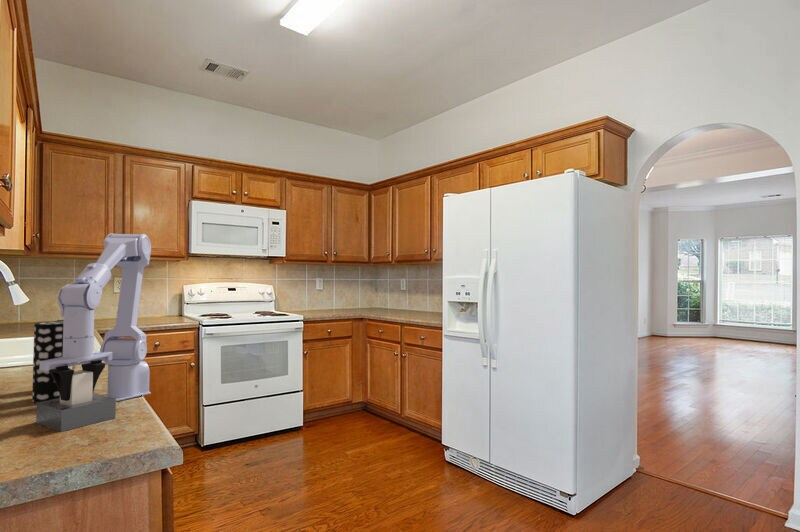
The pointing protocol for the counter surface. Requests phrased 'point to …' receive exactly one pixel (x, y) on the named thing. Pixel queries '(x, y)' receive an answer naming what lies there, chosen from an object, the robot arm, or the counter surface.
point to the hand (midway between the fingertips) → (77, 397)
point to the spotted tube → (46, 348)
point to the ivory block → (80, 388)
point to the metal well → (75, 413)
